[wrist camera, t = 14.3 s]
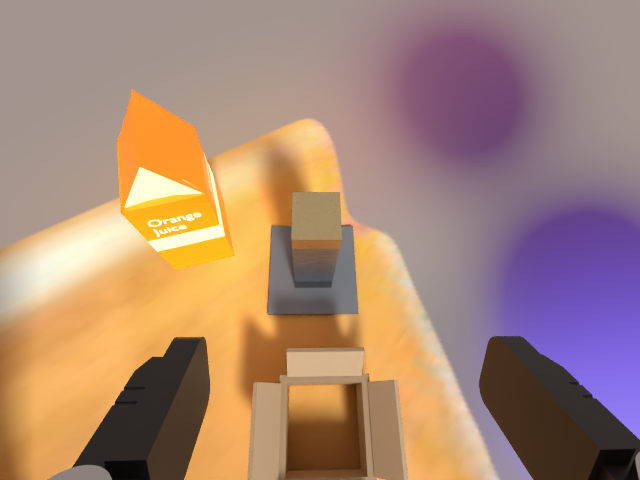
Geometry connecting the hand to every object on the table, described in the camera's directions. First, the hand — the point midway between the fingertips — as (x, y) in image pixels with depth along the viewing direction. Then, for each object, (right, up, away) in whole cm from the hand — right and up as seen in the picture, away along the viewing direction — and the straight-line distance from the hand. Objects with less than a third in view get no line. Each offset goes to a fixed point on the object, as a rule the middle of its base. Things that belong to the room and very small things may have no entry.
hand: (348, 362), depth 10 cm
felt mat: (-2, 0, +35) cm, 35 cm away
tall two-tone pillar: (-2, 0, +35) cm, 35 cm away
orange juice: (-17, +4, +37) cm, 41 cm away
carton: (0, -16, +27) cm, 32 cm away
